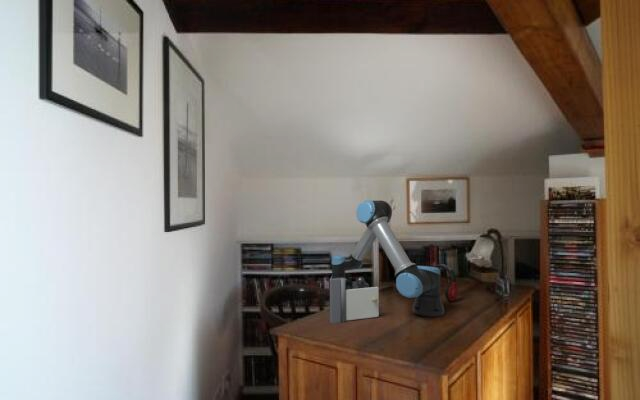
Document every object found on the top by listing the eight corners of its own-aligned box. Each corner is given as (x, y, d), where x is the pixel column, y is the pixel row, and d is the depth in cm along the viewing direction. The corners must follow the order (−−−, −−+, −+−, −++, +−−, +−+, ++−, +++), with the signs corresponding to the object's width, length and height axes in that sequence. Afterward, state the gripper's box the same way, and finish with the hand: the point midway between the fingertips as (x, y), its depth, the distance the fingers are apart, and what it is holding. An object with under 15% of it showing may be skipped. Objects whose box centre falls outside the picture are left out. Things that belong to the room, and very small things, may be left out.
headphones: (460, 301, 207) (460, 265, 207) (450, 304, 200) (450, 267, 201) (434, 295, 220) (433, 261, 221) (423, 297, 214) (423, 263, 215)
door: (348, 321, 169) (347, 291, 170) (345, 319, 172) (345, 289, 172) (380, 317, 175) (380, 288, 175) (377, 315, 178) (377, 286, 178)
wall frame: (331, 323, 168) (331, 279, 168) (329, 322, 170) (329, 278, 170) (346, 322, 170) (346, 278, 170) (344, 320, 172) (343, 277, 173)
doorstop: (363, 307, 190) (364, 273, 189) (371, 314, 182) (373, 278, 180) (347, 309, 187) (348, 275, 186) (355, 316, 179) (356, 280, 177)
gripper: (361, 291, 204) (381, 301, 182) (329, 294, 198) (346, 305, 176) (360, 278, 204) (381, 286, 183) (329, 280, 198) (346, 289, 176)
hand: (364, 295), depth 179 cm, fingers closed on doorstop, 6 cm apart
